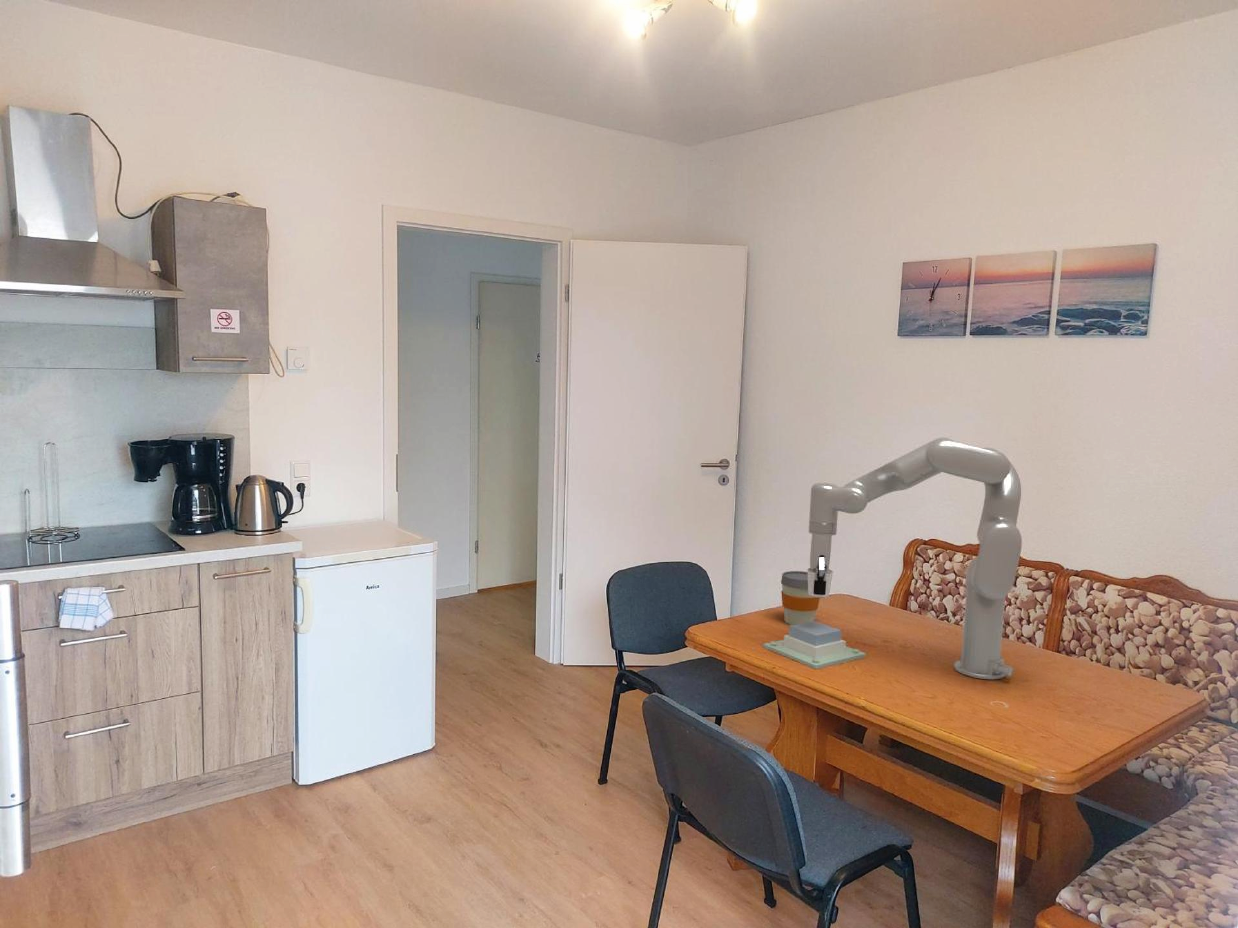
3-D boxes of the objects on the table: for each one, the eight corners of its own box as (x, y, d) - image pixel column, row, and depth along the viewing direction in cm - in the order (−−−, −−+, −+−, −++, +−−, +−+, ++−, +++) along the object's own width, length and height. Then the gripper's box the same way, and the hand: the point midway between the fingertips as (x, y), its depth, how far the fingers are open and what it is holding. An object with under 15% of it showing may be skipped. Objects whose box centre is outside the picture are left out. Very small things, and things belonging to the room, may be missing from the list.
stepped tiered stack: (865, 656, 231) (867, 632, 230) (815, 669, 220) (817, 643, 219) (812, 636, 248) (813, 614, 247) (763, 647, 237) (764, 623, 236)
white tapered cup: (812, 589, 237) (814, 565, 236) (835, 594, 233) (837, 570, 232) (801, 594, 232) (803, 569, 231) (824, 599, 227) (825, 574, 227)
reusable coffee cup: (775, 624, 260) (777, 577, 258) (783, 614, 271) (785, 569, 269) (815, 630, 255) (818, 582, 253) (822, 619, 266) (825, 573, 265)
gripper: (807, 521, 239) (804, 582, 241) (809, 532, 222) (805, 598, 224) (834, 523, 238) (830, 585, 240) (838, 534, 221) (834, 600, 223)
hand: (818, 590), depth 232 cm, fingers closed on white tapered cup, 6 cm apart
